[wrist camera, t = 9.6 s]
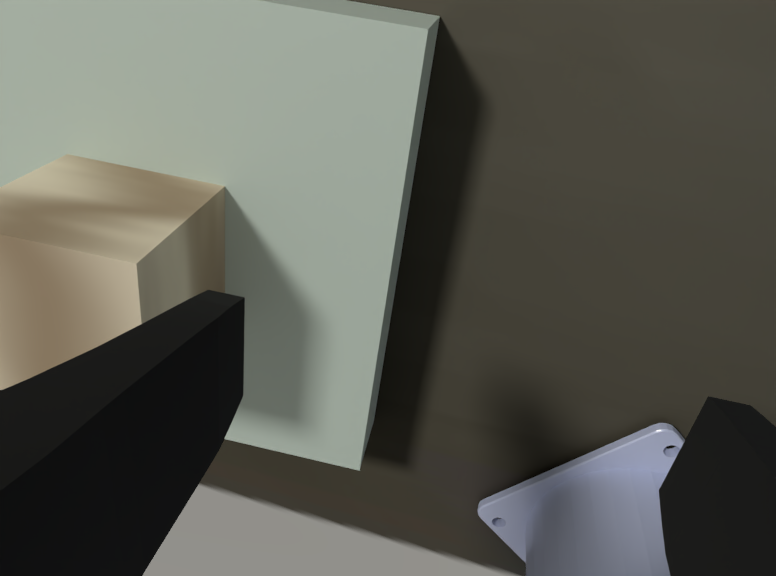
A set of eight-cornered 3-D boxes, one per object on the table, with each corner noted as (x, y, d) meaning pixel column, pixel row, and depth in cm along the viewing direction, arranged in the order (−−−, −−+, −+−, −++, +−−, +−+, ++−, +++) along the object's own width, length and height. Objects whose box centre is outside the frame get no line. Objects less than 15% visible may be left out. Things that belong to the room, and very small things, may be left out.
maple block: (225, 186, 16) (136, 263, 13) (225, 324, 19) (150, 425, 15) (67, 154, 17) (-66, 220, 13) (86, 293, 19) (-22, 384, 15)
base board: (440, 16, 16) (428, 28, 14) (374, 420, 23) (359, 470, 21) (-63, -69, 17) (-146, -69, 15) (25, 341, 24) (-23, 380, 22)
